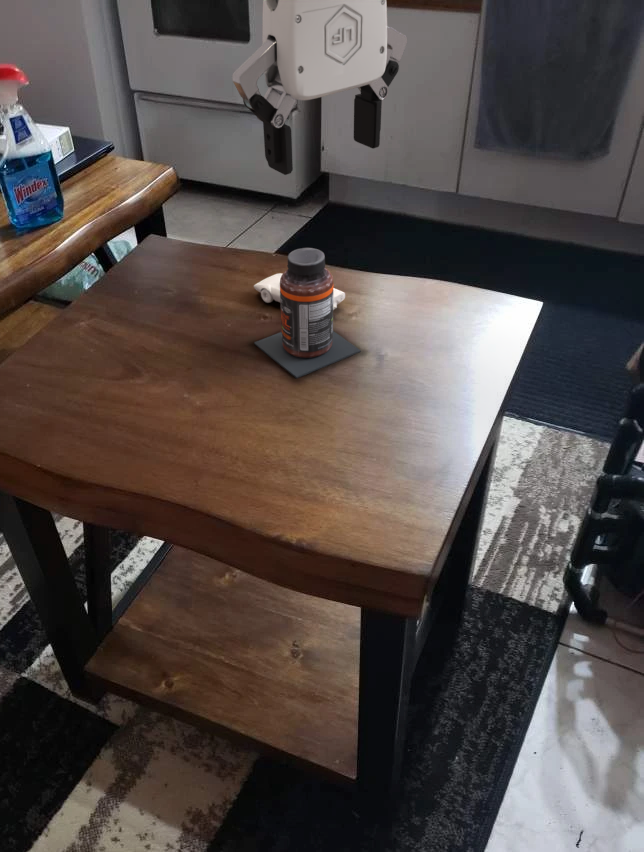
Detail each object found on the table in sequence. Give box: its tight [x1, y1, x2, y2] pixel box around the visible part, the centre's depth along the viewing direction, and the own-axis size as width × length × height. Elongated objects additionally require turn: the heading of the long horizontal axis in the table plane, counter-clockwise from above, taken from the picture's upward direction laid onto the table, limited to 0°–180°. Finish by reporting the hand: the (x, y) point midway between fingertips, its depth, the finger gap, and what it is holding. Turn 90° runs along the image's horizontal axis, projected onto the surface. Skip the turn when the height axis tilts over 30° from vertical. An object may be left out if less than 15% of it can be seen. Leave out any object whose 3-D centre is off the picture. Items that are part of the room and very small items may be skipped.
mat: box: [253, 330, 361, 379], centre depth 88 cm, size 9×9×1 cm
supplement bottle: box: [279, 247, 335, 358], centre depth 84 cm, size 6×6×11 cm
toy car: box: [253, 272, 346, 311], centre depth 94 cm, size 6×12×3 cm, turn 47°
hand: (324, 157), depth 69 cm, fingers open, 9 cm apart
